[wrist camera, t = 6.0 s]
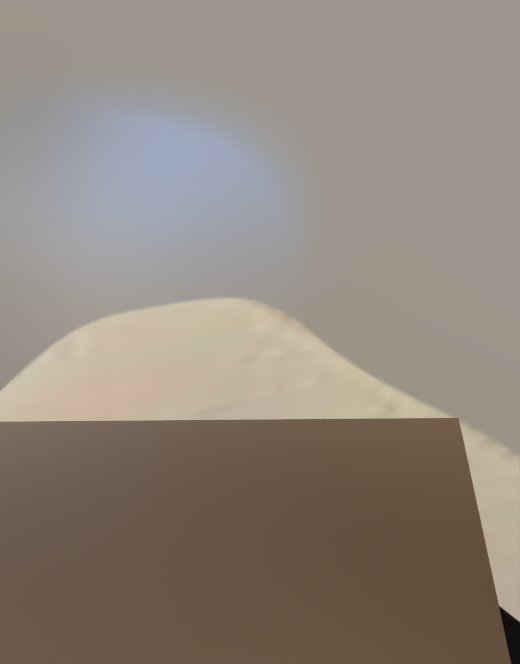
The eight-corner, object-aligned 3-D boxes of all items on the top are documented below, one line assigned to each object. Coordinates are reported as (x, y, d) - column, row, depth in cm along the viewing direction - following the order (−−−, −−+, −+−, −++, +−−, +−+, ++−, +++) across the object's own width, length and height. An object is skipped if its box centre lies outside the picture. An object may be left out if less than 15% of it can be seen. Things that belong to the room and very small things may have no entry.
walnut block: (348, 727, 12) (744, 1748, 1) (182, 722, 12) (-484, 1538, 2) (336, 542, 14) (458, 417, 4) (196, 540, 14) (-59, 422, 4)
